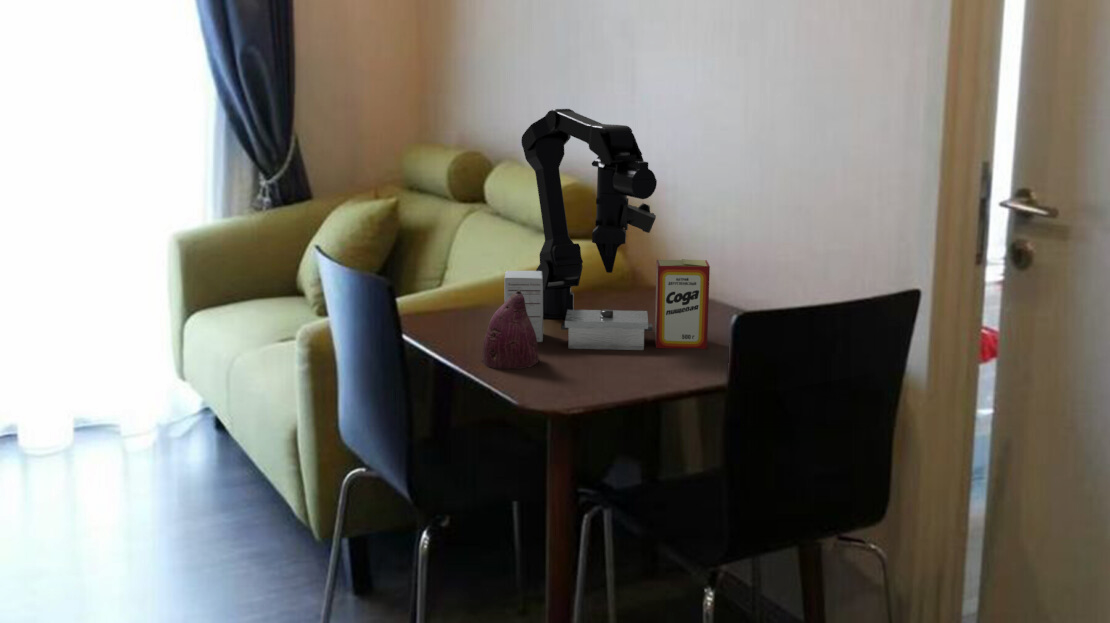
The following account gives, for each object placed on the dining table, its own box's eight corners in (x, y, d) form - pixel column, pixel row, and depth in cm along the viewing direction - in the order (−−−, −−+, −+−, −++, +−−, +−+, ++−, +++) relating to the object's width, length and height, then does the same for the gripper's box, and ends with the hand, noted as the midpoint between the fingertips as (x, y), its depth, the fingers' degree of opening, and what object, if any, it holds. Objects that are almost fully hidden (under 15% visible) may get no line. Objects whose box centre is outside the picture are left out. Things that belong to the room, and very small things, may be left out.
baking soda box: (656, 348, 225) (658, 263, 222) (654, 339, 231) (656, 257, 228) (707, 348, 225) (709, 264, 221) (704, 340, 231) (706, 258, 228)
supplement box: (505, 333, 236) (505, 270, 233) (543, 333, 236) (543, 270, 233) (504, 342, 229) (503, 277, 226) (543, 342, 229) (543, 277, 226)
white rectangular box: (559, 348, 224) (560, 327, 223) (562, 336, 234) (562, 316, 233) (652, 350, 223) (652, 329, 222) (651, 337, 233) (651, 317, 232)
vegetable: (545, 381, 214) (566, 304, 209) (495, 381, 209) (516, 303, 203) (517, 354, 222) (537, 280, 217) (468, 354, 217) (487, 278, 211)
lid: (564, 327, 223) (564, 315, 223) (567, 315, 233) (567, 304, 233) (648, 329, 222) (648, 317, 222) (647, 316, 233) (647, 305, 232)
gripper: (654, 200, 220) (650, 284, 223) (654, 187, 238) (651, 264, 241) (593, 198, 221) (590, 281, 224) (598, 185, 239) (596, 262, 242)
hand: (609, 272), depth 233 cm, fingers closed
